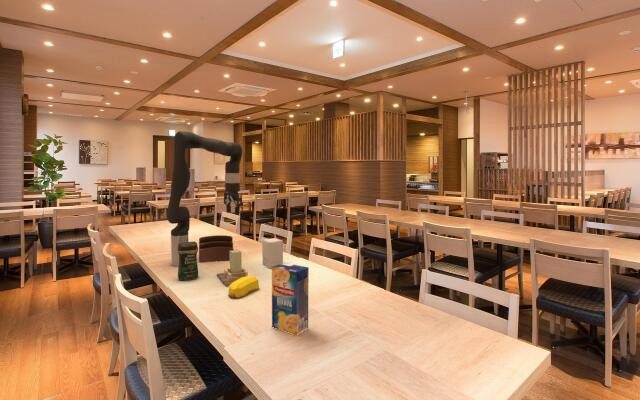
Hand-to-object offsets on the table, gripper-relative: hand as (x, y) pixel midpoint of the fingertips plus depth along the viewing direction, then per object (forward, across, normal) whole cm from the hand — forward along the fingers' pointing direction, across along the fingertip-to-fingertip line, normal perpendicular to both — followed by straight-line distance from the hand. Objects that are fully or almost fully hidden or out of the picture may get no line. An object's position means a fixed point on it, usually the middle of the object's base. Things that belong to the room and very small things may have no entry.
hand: (232, 213), depth 183 cm
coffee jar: (+32, +9, +20) cm, 39 cm away
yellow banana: (+32, -26, +10) cm, 43 cm away
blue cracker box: (+32, -68, +17) cm, 77 cm away
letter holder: (+32, +33, -8) cm, 47 cm away
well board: (+32, -7, +4) cm, 33 cm away
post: (+31, -7, +3) cm, 32 cm away
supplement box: (+32, 0, -25) cm, 41 cm away
